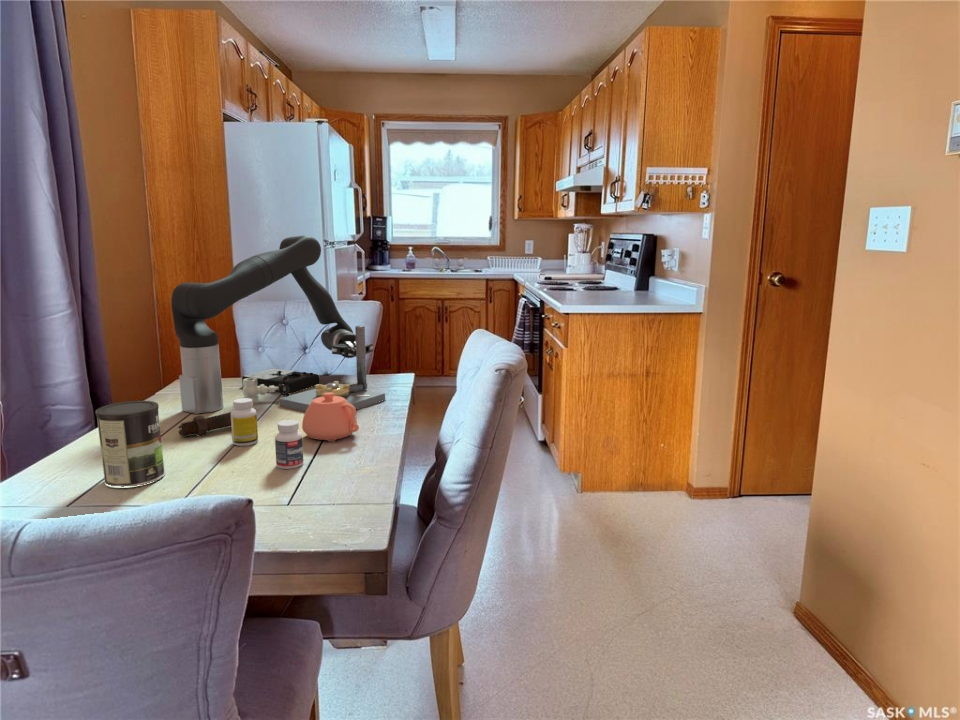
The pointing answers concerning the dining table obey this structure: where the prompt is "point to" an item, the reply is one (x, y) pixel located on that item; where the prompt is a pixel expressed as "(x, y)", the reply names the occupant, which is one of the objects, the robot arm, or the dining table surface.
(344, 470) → the dining table surface
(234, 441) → the supplement bottle
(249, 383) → the valve
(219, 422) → the bolt
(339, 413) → the sugar bowl
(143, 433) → the coffee can
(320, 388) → the brass hub with handle
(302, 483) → the dining table surface
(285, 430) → the pill bottle
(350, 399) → the base plate
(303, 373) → the multimeter
